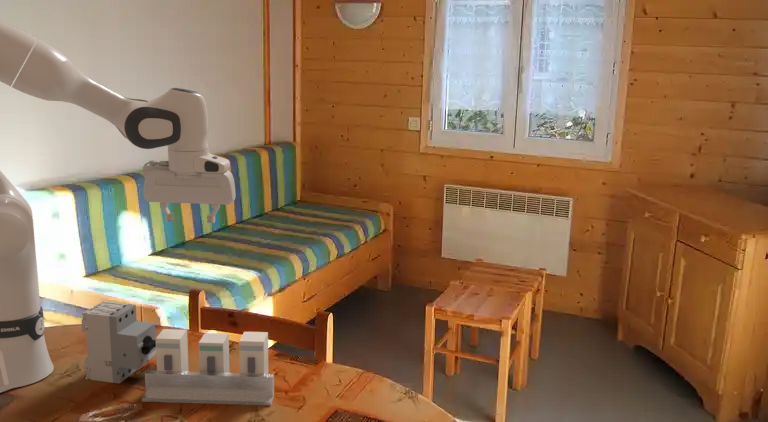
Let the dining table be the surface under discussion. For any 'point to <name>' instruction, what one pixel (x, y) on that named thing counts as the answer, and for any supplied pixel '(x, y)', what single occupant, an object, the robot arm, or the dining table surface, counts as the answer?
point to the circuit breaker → (116, 341)
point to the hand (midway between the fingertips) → (190, 221)
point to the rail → (209, 387)
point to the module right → (254, 352)
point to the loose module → (214, 353)
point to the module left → (172, 350)
